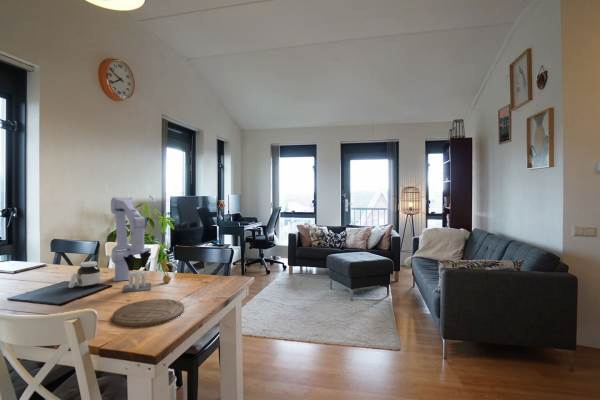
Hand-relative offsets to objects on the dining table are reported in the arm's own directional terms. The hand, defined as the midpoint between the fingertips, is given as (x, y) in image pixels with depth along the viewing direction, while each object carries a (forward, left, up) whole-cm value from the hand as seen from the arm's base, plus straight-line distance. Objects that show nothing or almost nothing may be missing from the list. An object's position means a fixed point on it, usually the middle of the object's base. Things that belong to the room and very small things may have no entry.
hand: (137, 268), depth 154 cm
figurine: (-6, +13, -10) cm, 17 cm away
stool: (0, 0, -9) cm, 9 cm away
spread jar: (-11, -24, -10) cm, 28 cm away
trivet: (+38, +6, -10) cm, 40 cm away
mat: (0, 0, -9) cm, 9 cm away
